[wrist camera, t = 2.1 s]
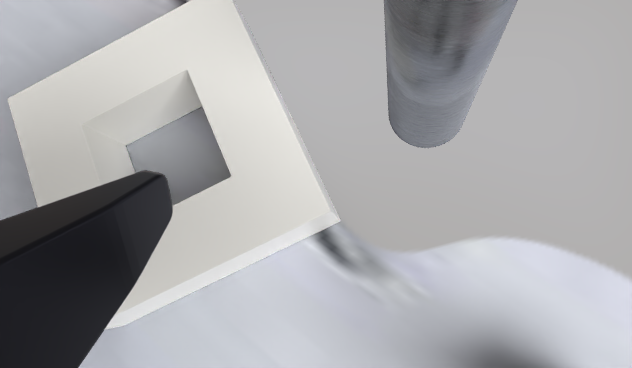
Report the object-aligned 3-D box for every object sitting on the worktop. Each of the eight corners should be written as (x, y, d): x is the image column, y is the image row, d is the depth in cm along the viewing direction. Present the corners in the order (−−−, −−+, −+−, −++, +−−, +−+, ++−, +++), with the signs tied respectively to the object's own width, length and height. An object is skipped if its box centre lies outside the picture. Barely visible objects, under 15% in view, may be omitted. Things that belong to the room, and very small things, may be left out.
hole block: (341, 221, 21) (330, 210, 18) (123, 326, 22) (74, 335, 19) (247, 23, 24) (223, -18, 21) (59, 122, 25) (7, 98, 22)
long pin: (479, 126, 21) (604, -96, 8) (409, 160, 21) (429, -7, 9) (442, 64, 22) (505, -219, 9) (376, 98, 22) (350, -135, 10)
